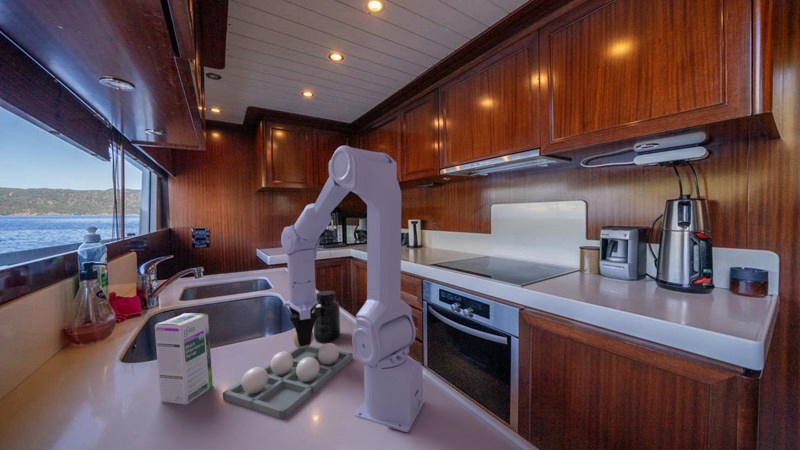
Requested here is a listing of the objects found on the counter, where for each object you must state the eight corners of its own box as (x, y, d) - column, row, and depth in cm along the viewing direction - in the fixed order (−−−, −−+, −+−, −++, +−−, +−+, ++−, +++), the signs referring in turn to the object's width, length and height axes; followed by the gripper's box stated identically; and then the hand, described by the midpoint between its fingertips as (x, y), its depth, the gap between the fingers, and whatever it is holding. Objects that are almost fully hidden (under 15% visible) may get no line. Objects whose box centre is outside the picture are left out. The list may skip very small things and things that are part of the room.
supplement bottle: (345, 335, 80) (344, 291, 79) (327, 345, 74) (325, 298, 74) (327, 330, 84) (326, 288, 83) (308, 339, 78) (306, 294, 77)
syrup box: (186, 407, 51) (181, 324, 51) (158, 403, 53) (153, 322, 52) (213, 387, 57) (209, 313, 56) (187, 384, 58) (183, 311, 57)
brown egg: (318, 344, 68) (317, 325, 68) (304, 353, 64) (304, 333, 64) (302, 341, 70) (302, 323, 69) (289, 350, 65) (288, 330, 65)
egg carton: (352, 360, 66) (352, 339, 66) (283, 421, 47) (282, 392, 47) (303, 350, 72) (302, 330, 71) (223, 401, 53) (221, 375, 52)
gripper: (282, 275, 71) (284, 331, 72) (282, 290, 58) (285, 358, 58) (312, 273, 74) (314, 326, 74) (320, 286, 60) (322, 351, 61)
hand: (303, 340), depth 67 cm, fingers closed on brown egg, 4 cm apart
